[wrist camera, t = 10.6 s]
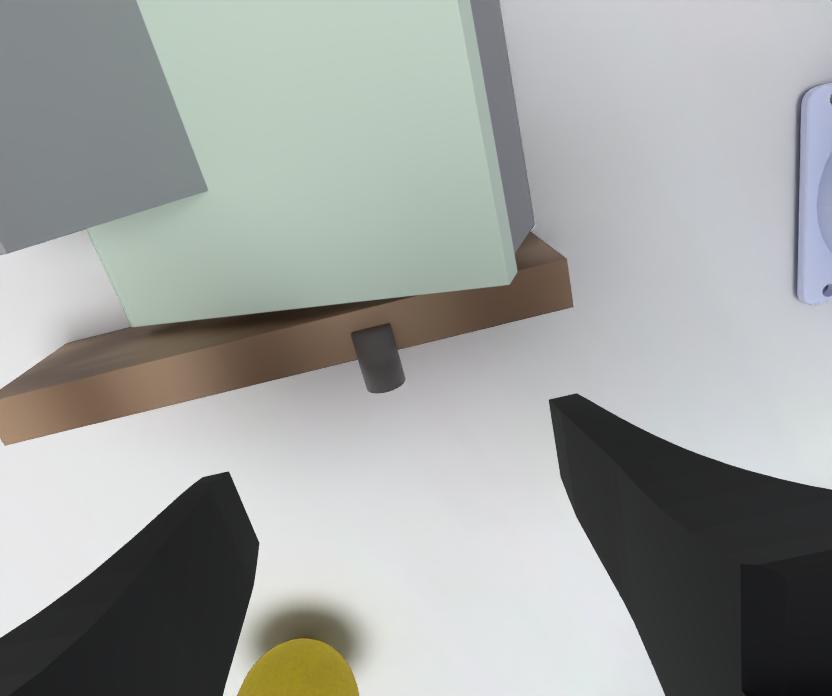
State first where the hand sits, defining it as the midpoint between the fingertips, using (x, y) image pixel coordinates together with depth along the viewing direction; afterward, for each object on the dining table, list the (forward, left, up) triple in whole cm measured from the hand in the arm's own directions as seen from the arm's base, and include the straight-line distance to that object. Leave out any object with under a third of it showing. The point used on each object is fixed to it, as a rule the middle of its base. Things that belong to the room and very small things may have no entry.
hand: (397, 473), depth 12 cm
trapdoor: (+1, -9, -9) cm, 13 cm away
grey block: (+6, -9, -7) cm, 13 cm away
